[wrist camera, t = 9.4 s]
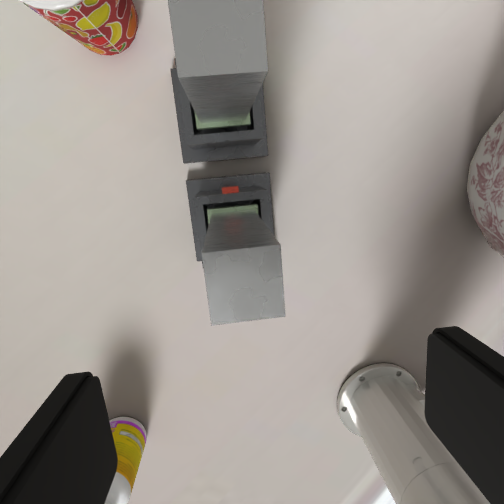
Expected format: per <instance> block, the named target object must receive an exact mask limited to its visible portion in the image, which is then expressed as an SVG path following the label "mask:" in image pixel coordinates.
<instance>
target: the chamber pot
mask: <svg viewBox="0 0 504 504" xmlns="http://www.w3.org/2000/svg"><path fill="white" fill-rule="evenodd" d="M467 194H468V199H469V205H470V210H471V213H472V215H473V217H474V219H475V221H476V223H477V225H478V227H479V228H480V230H481V232H482V234H483V235H484V237H485V239H486V240H487V242H488V244H489V245H490V247H491V248H492V249H494V250H495V251H496V252H498V253H499V254H500V255H502V256H503V257H504V110H503V112H502V113H501V114H500V115H499V117H498V118H497V119H496V120H495V122H494V123H493V124H492V125H491V127H490V128H489V129H488V131H487V132H486V133H485V135H484V136H483V137H482V139H481V140H480V141H479V144H478V146H477V148H476V151H475V153H474V156H473V158H472V161H471V163H470V166H469V174H468V182H467Z"/></svg>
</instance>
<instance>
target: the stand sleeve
mask: <svg viewBox="0 0 504 504" xmlns="http://www.w3.org/2000/svg"><path fill="white" fill-rule="evenodd" d="M186 185H187V192H188V199H189V206H190V214H191V221H192V228H193V235H194V243H195V250H196V257H197V261H202V264H203V260H202V249H203V245H204V242H205V238H206V234H207V230H208V226H209V222H208V214H207V208H217V207H227V206H237V205H247V204H257V205H258V215H259V217H260V218H261V219H262V221H263V222H264V223H265V225H266V226H267V227H268V229H269V230H270V231H271V233H272V234H273V235H274V228H273V214H272V201H271V188H270V174H269V173H260V174H249V175H239V176H228V177H218V178H207V179H197V180H187V181H186Z"/></svg>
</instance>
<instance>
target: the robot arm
mask: <svg viewBox="0 0 504 504" xmlns="http://www.w3.org/2000/svg"><path fill="white" fill-rule="evenodd" d="M337 409H338V414H339V416H340V419H341V421H342V422H343V424H344V426H345V427H346V428H347V429H348V430H349V431H350V432H352V433H353V434H355V435H357V436H360V437H362V439H363V441H364V443H365V445H366V447H367V449H368V451H369V453H370V454H371V456H372V458H373V460H374V462H375V464H376V466H377V468H378V470H379V472H380V474H381V476H382V478H383V480H384V482H385V484H386V485H387V487H388V489H389V491H390V493H391V495H392V497H393V499H394V501H395V503H396V504H504V357H503V356H502V355H500V354H499V353H497V352H496V351H494V350H493V349H491V348H490V347H488V346H487V345H485V344H484V343H482V342H481V341H479V340H478V339H476V338H475V337H473V336H472V335H470V334H469V333H467V332H466V331H464V330H463V329H461V328H459V327H457V326H452V327H444V328H436V329H435V330H434V331H433V333H432V334H430V335H429V337H428V343H427V366H426V388H425V395H424V394H423V393H421V392H420V389H419V387H418V384H417V382H416V381H415V379H414V378H413V377H412V375H411V374H410V373H409V372H408V371H406V370H405V369H404V368H402V367H399V366H397V365H394V364H389V363H380V364H373V365H370V366H367V367H364V368H362V369H360V370H358V371H357V372H356V373H354V374H353V375H352V376H351V377H350V378H349V379H348V380H347V381H346V382H345V383H344V385H343V386H342V388H341V390H340V392H339V395H338V399H337ZM117 464H118V457H117V452H116V448H115V443H114V439H113V435H112V430H111V426H110V422H109V418H108V413H107V409H106V405H105V401H104V396H103V392H102V388H101V384H100V380H99V378H98V377H97V376H94V377H93V375H92V374H91V372H82V373H74V374H68V375H66V376H64V377H63V379H62V380H61V381H60V383H59V384H58V385H57V386H56V388H55V389H54V390H53V391H52V393H51V394H50V395H49V397H48V398H47V399H46V400H45V402H44V403H43V404H42V405H41V407H40V408H39V409H38V410H37V412H36V413H35V414H34V416H33V417H32V418H31V419H30V421H29V422H28V423H27V424H26V426H25V427H24V428H23V430H22V431H21V432H20V433H19V435H18V436H17V437H16V438H15V440H14V441H13V442H12V443H11V445H10V446H9V447H8V449H7V450H6V451H5V452H4V454H3V455H2V456H1V457H0V504H105V501H106V498H107V495H108V493H109V490H110V487H111V484H112V482H113V479H114V476H115V474H116V470H117Z"/></svg>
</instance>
